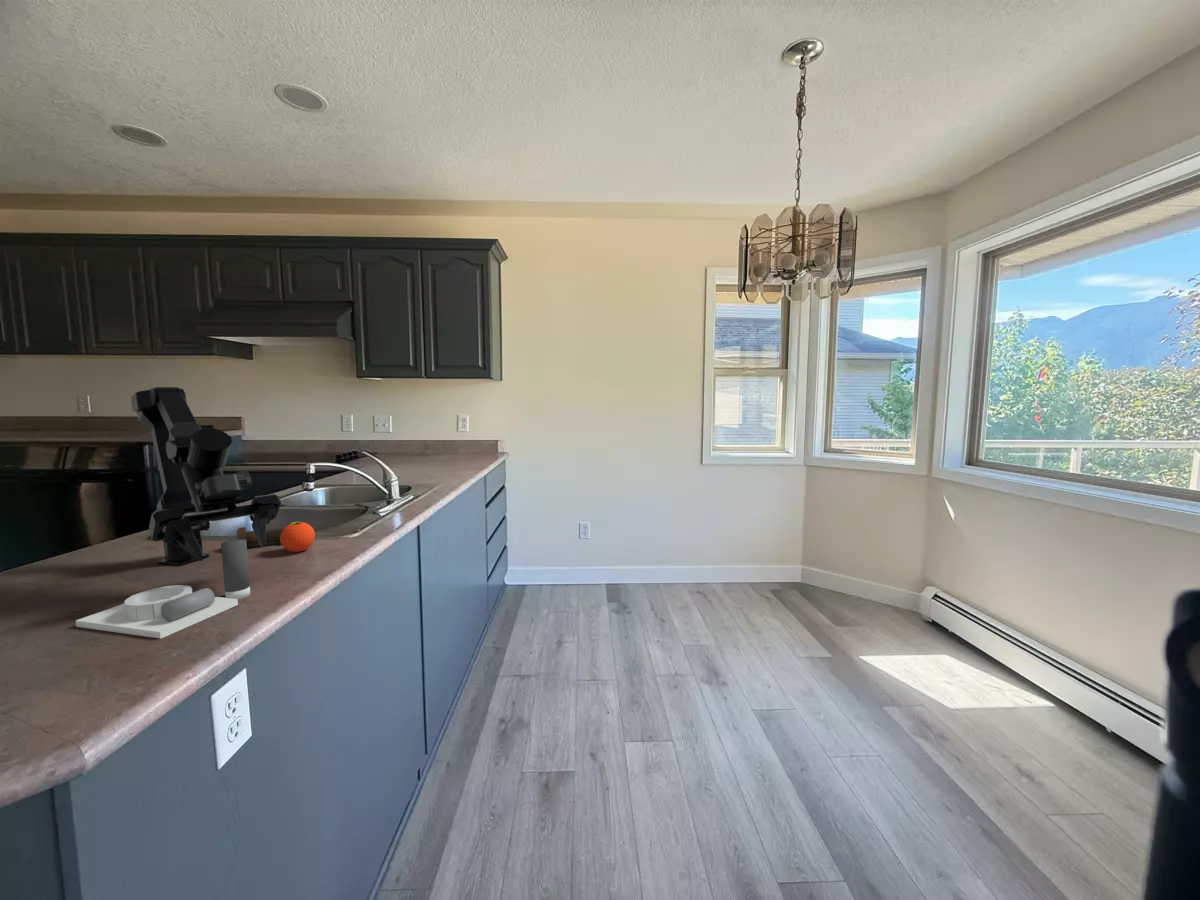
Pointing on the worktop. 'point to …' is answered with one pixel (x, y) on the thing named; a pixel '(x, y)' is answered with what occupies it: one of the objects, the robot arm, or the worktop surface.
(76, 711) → the worktop surface
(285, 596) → the worktop surface
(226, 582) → the crank handle
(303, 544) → the clementine
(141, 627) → the white socket base plate
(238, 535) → the bolt
